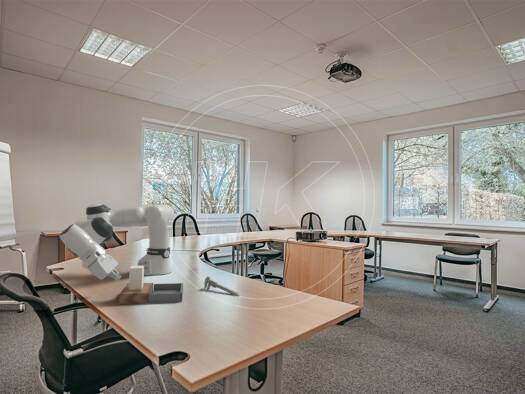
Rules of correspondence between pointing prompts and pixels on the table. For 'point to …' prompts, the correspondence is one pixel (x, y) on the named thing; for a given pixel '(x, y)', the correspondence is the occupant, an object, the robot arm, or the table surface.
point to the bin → (166, 293)
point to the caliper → (218, 286)
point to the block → (136, 277)
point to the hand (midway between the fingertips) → (119, 279)
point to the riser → (136, 294)
